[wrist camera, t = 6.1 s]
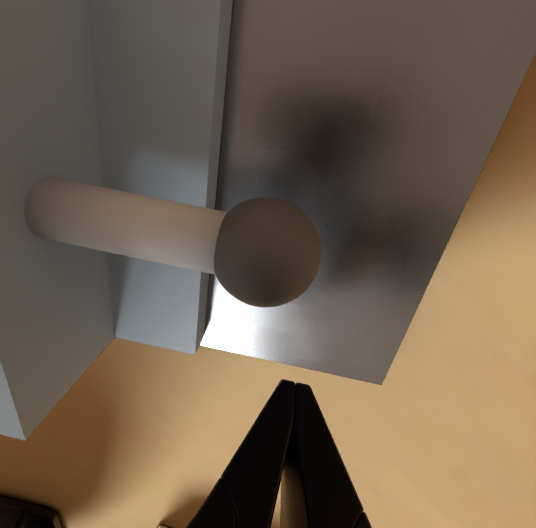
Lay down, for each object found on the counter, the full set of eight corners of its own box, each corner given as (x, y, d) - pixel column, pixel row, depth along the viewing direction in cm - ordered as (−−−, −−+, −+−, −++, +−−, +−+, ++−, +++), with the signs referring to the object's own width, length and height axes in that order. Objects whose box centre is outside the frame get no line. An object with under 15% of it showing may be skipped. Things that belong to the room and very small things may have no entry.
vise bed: (378, 373, 13) (381, 384, 12) (128, 318, 13) (120, 327, 13) (547, -3, 7) (565, -12, 7) (106, -75, 8) (91, -88, 7)
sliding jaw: (284, 354, 12) (267, 499, 8) (80, 309, 12) (-49, 422, 8) (376, -13, 7) (480, -213, 3) (27, -70, 7) (-404, -334, 3)
